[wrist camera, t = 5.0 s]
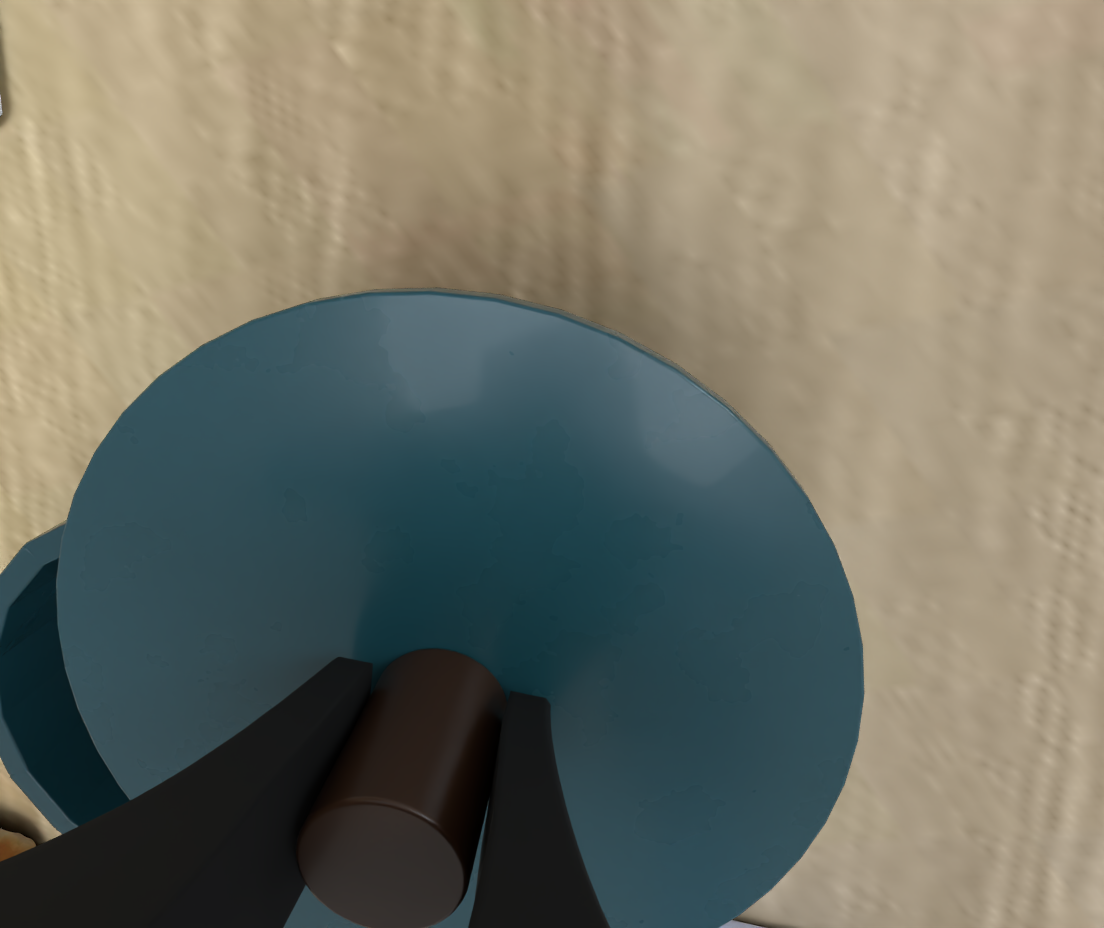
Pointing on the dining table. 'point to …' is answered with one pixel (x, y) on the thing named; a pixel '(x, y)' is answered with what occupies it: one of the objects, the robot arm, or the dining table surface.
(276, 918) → the robot arm
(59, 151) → the dining table surface
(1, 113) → the butter knife
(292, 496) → the lid
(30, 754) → the pan
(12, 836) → the pastry
